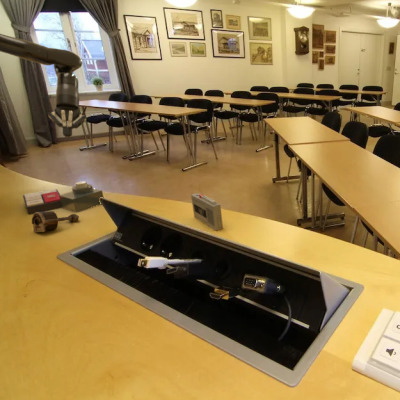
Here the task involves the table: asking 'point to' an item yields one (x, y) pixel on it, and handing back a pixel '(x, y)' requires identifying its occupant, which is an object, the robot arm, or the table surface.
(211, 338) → the table surface
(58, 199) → the dark box with panels
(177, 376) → the table surface
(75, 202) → the olive block with knob
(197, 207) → the cassette player
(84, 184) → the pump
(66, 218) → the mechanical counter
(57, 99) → the robot arm
